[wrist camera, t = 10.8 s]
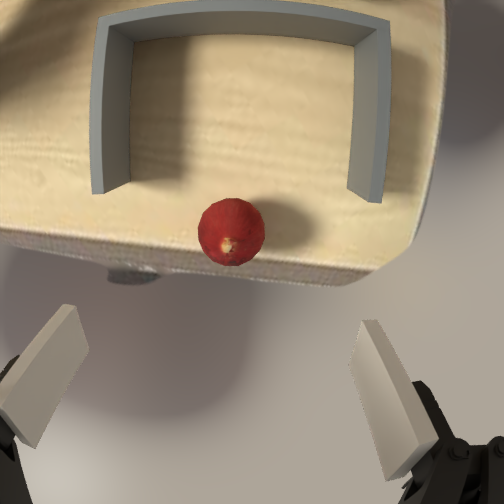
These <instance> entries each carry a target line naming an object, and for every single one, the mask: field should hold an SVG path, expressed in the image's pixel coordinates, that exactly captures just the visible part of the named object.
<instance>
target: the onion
mask: <svg viewBox="0 0 504 504" xmlns="http://www.w3.org/2000/svg"><path fill="white" fill-rule="evenodd" d="M198 238H199V242H200V244H201V247H202V249H203V251H204V253H205V254H206V255H207V256H208V257H209V258H210V259H211V260H212V261H214V262H216V263H219V264H221V265H224V266H239V265H241V264H243V263H245V262H247V261H250V260H251V259H252V258H253V257H254V256H255V255H256V254H257V253H258V252H259V251H260V249H261V246H262V244H263V241H264V239H265V230H264V222H263V219H262V217H261V215H260V213H259V211H258V210H257V209H256V208H255V207H254V206H253V205H252V204H251V203H249V202H247V201H244V200H241V199H239V198H226V199H224V200H221V201H218V202H216V203H213V204H212V205H211V206H210V207H209V208H208V209H207V210H206V211H205V212H204V213H203V215H202V217H201V220H200V223H199V226H198Z"/></svg>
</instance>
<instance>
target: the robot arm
mask: <svg viewBox="0 0 504 504" xmlns="http://www.w3.org/2000/svg"><path fill="white" fill-rule="evenodd" d="M88 352H89V347H88V344H87V341H86V338H85V335H84V332H83V329H82V326H81V322H80V319H79V316H78V313H77V309H76V306H74V305H67V304H63V305H62V306H61V307H60V308H59V310H58V311H57V312H56V313H55V314H54V315H53V317H52V318H51V319H50V320H49V321H48V322H47V324H46V325H45V326H44V327H43V328H42V330H41V331H40V332H39V333H38V334H37V336H36V337H35V338H34V339H33V340H32V342H31V343H30V344H29V345H28V347H27V348H26V349H25V350H24V352H23V353H22V354H21V356H20V355H18V356H16V357H15V358H13V359H12V360H10V361H9V363H8V364H7V365H6V367H5V368H4V371H2V372H1V373H0V504H33V503H32V500H31V497H30V494H29V491H28V488H27V484H26V481H25V478H24V474H23V470H22V467H21V463H20V459H19V454H18V450H17V445H16V443H15V441H14V440H13V439H14V437H15V435H16V436H17V437H18V438H19V440H20V441H21V442H22V443H24V444H26V445H28V446H30V447H32V448H34V449H36V447H37V445H38V443H39V441H40V439H41V437H42V435H43V432H44V431H45V429H46V427H47V424H48V423H49V421H50V418H51V417H52V415H53V413H54V411H55V409H56V407H57V406H58V404H59V402H60V400H61V398H62V396H63V395H64V393H65V391H66V389H67V387H68V386H69V384H70V382H71V380H72V379H73V377H74V375H75V373H76V372H77V370H78V368H79V367H80V365H81V363H82V362H83V360H84V358H85V357H86V355H87V353H88ZM349 368H350V371H351V374H352V376H353V379H354V382H355V385H356V388H357V391H358V394H359V397H360V400H361V403H362V406H363V409H364V412H365V415H366V418H367V421H368V424H369V427H370V430H371V434H372V437H373V440H374V443H375V446H376V450H377V453H378V456H379V460H380V463H381V466H382V470H383V473H384V477H385V480H386V481H390V480H394V479H397V478H401V477H404V476H405V475H406V474H407V473H408V472H409V471H410V470H411V472H412V475H413V477H412V478H411V479H410V480H408V481H407V482H406V483H405V484H404V486H403V487H402V489H404V488H405V487H406V490H405V491H404V494H403V495H402V497H401V499H400V501H399V503H398V504H504V437H502V436H497V437H494V438H493V439H492V440H491V441H490V442H489V443H488V444H487V445H469V444H468V443H467V442H466V441H464V440H463V439H460V438H455V436H454V435H453V433H452V431H451V429H450V427H449V425H448V423H447V421H446V419H445V417H444V415H443V413H442V411H441V409H440V408H439V405H438V403H437V401H436V400H435V398H434V396H433V394H432V392H431V390H430V389H429V388H428V387H427V386H426V385H425V384H424V383H423V382H422V381H416V382H411V380H410V378H409V376H408V374H407V373H406V371H405V369H404V367H403V365H402V364H401V361H400V359H399V358H398V356H397V354H396V352H395V350H394V348H393V347H392V345H391V343H390V341H389V339H388V338H387V336H386V334H385V332H384V331H383V329H382V327H381V325H380V324H379V322H378V320H362V322H361V326H360V329H359V333H358V336H357V339H356V343H355V346H354V349H353V352H352V355H351V359H350V362H349Z"/></svg>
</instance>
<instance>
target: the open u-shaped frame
mask: <svg viewBox="0 0 504 504" xmlns="http://www.w3.org/2000/svg"><path fill="white" fill-rule="evenodd" d="M210 34H257V35H275V36H288V37H298V38H306V39H314V40H321V41H328V42H334V43H339V44H345V45H350V46H354V99H353V120H352V135H351V149H350V161H349V171H348V181H347V189H349V190H350V191H352V192H354V193H355V194H357V195H358V196H360V197H361V198H363V199H364V200H366V201H367V202H371V203H382V196H383V188H384V180H385V172H386V163H387V152H388V141H389V127H390V109H391V36H390V21H387V20H384V19H380V18H377V17H373V16H369V15H365V14H361V13H357V12H352V11H348V10H343V9H338V8H333V7H327V6H321V5H314V4H307V3H299V2H289V1H278V0H197V1H185V2H176V3H168V4H161V5H154V6H148V7H142V8H137V9H132V10H127V11H122V12H118V13H114V14H110V15H106V16H102V17H99V18H98V24H97V30H96V37H95V45H94V53H93V63H92V75H91V89H90V117H89V143H90V171H91V186H92V194H105V193H107V192H109V191H111V190H113V189H115V188H117V187H119V186H122V185H124V184H126V183H128V182H130V147H129V125H130V91H131V74H132V61H133V50H134V42H139V41H146V40H153V39H160V38H169V37H179V36H191V35H210Z"/></svg>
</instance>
